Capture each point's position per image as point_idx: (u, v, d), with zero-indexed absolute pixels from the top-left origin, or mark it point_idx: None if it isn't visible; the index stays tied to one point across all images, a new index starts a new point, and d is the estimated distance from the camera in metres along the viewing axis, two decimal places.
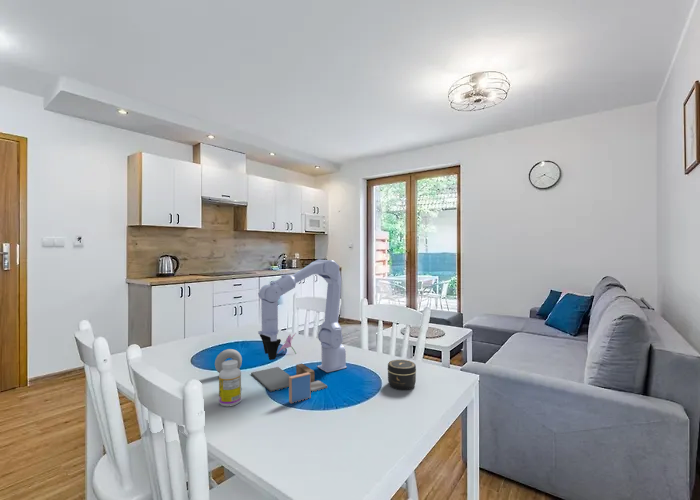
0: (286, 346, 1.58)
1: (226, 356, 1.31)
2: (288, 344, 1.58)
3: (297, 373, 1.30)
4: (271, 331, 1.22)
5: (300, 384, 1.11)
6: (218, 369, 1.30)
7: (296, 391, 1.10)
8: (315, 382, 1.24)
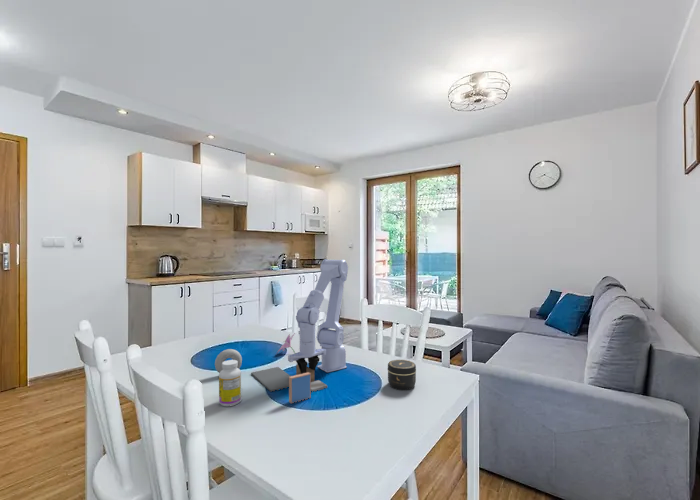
0: (285, 346, 1.58)
1: (226, 356, 1.31)
2: (287, 344, 1.58)
3: (297, 373, 1.30)
4: (300, 352, 1.25)
5: (300, 384, 1.11)
6: (218, 369, 1.30)
7: (296, 391, 1.10)
8: (315, 382, 1.24)
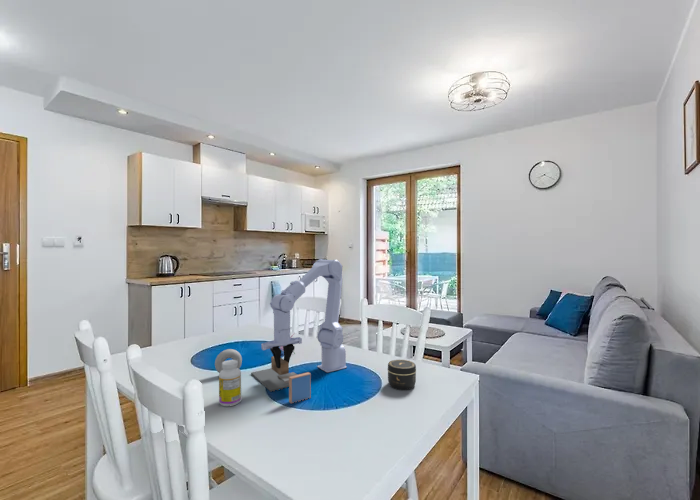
0: None
1: (226, 356, 1.31)
2: None
3: (272, 365, 1.27)
4: (274, 340, 1.21)
5: (300, 384, 1.11)
6: (218, 369, 1.30)
7: (296, 391, 1.10)
8: (289, 373, 1.20)
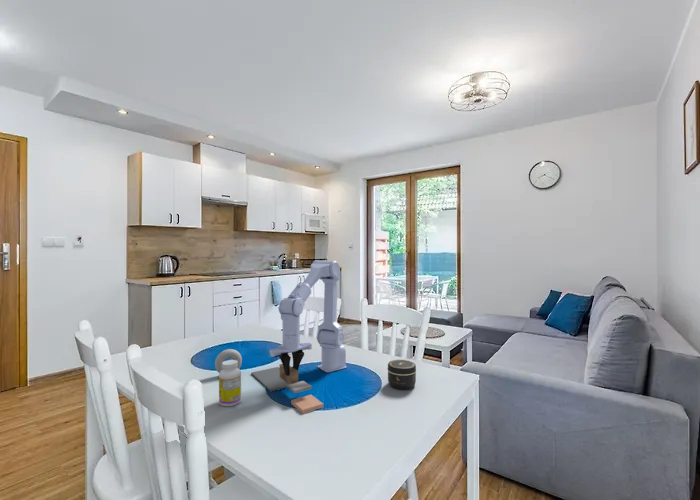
0: None
1: (226, 356, 1.31)
2: None
3: (280, 374, 1.21)
4: (283, 346, 1.15)
5: None
6: (218, 369, 1.30)
7: None
8: (298, 382, 1.14)
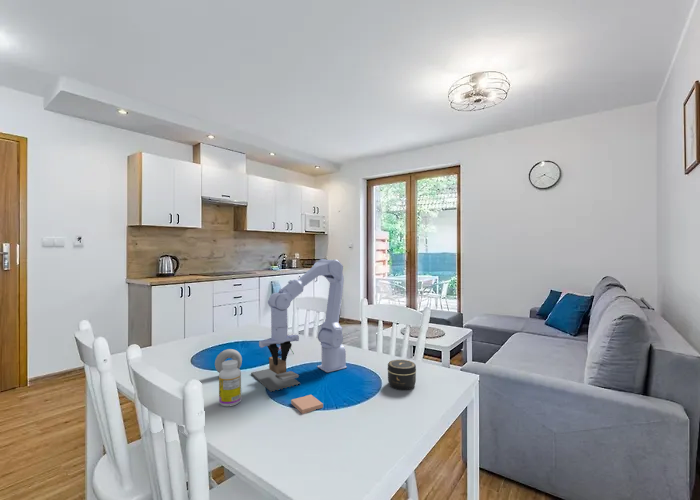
0: None
1: (226, 356, 1.31)
2: None
3: (270, 366, 1.29)
4: (272, 338, 1.23)
5: None
6: (218, 369, 1.30)
7: None
8: (286, 372, 1.22)
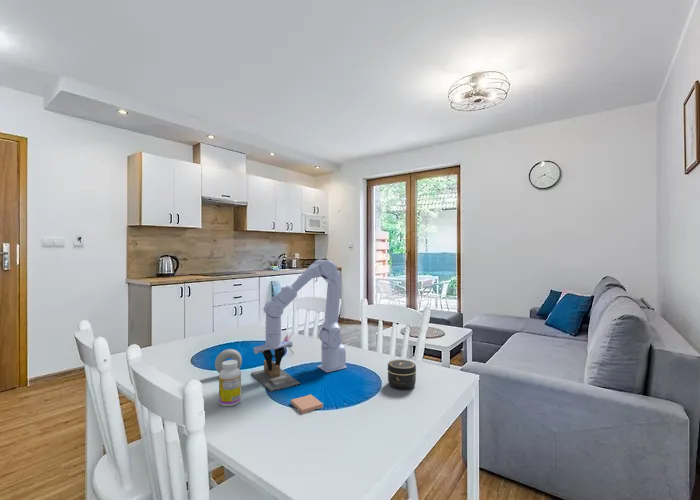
0: None
1: (226, 356, 1.31)
2: None
3: (264, 368, 1.33)
4: (266, 344, 1.28)
5: None
6: (218, 369, 1.30)
7: None
8: (280, 377, 1.27)
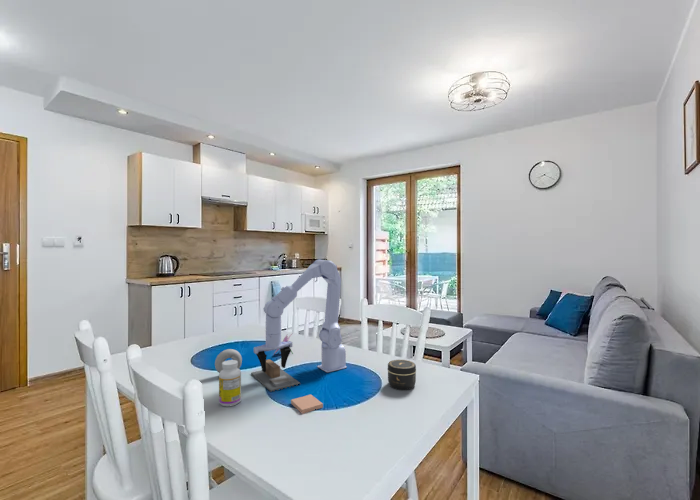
0: None
1: (226, 356, 1.31)
2: None
3: None
4: (266, 344, 1.28)
5: None
6: (218, 369, 1.30)
7: None
8: (280, 377, 1.27)
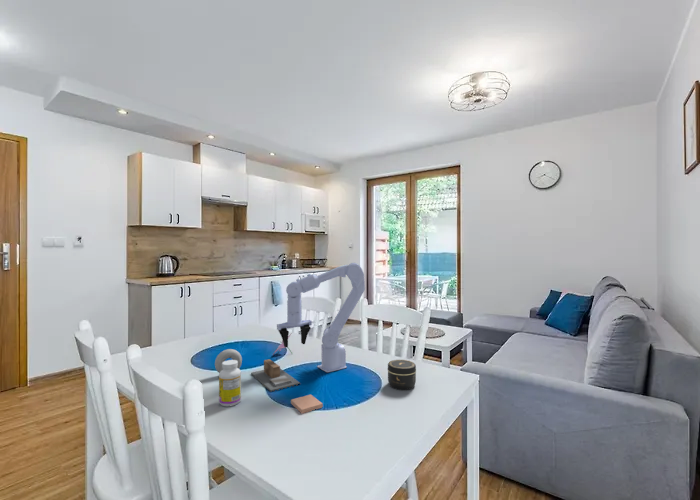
0: (282, 346, 1.57)
1: (226, 356, 1.31)
2: None
3: (264, 368, 1.33)
4: (288, 322, 1.38)
5: None
6: (218, 369, 1.30)
7: None
8: (280, 377, 1.27)
